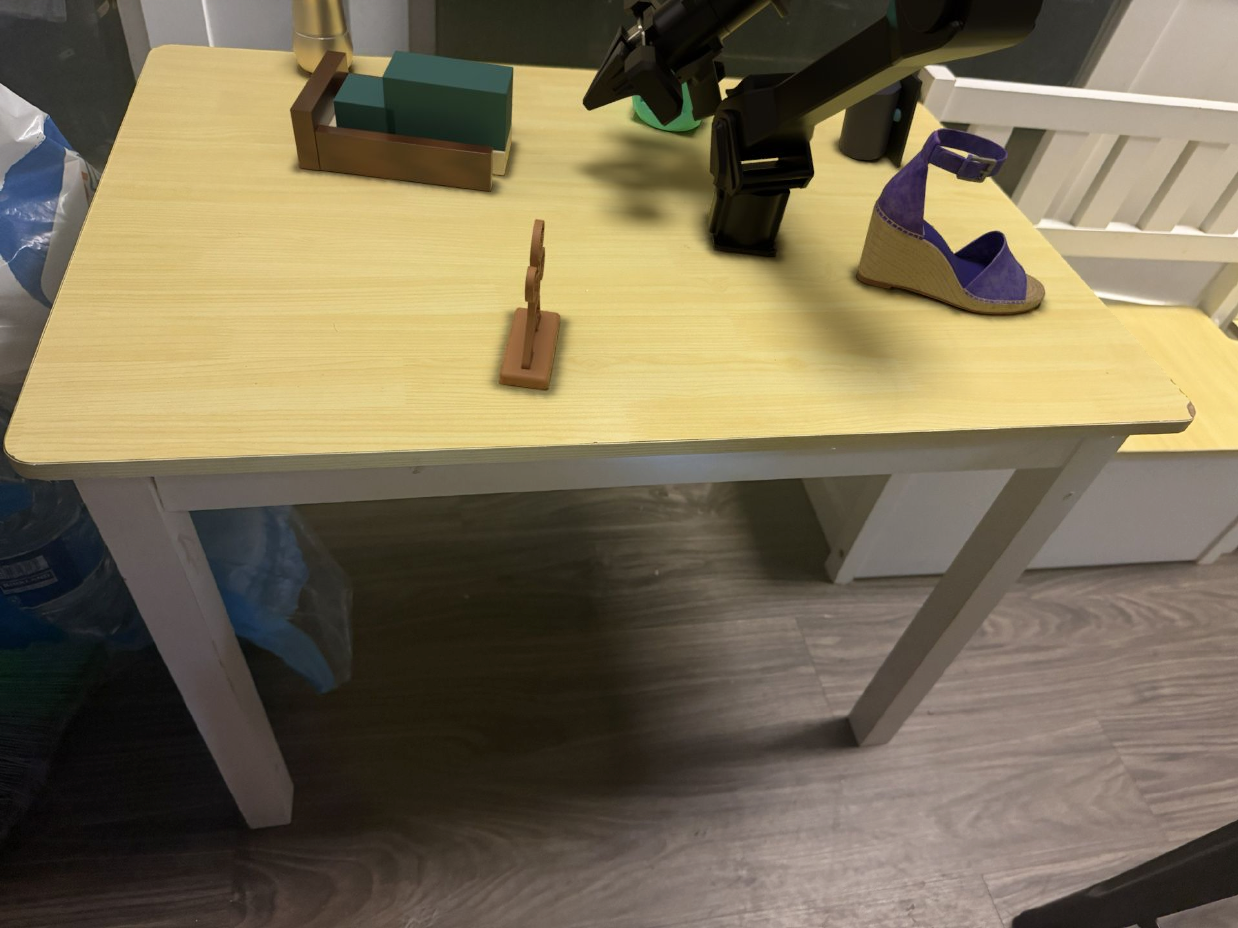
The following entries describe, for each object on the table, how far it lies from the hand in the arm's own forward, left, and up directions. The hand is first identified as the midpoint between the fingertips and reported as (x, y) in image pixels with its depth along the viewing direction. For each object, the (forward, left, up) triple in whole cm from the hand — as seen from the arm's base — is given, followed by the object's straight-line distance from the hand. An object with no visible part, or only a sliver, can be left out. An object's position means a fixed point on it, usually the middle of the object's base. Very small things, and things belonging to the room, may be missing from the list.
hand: (585, 106), depth 84 cm
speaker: (-34, -13, -7) cm, 37 cm away
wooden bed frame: (+18, 0, -7) cm, 19 cm away
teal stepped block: (+17, 0, -7) cm, 18 cm away
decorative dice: (-10, -16, -7) cm, 20 cm away
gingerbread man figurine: (+2, +31, -7) cm, 32 cm away
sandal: (-38, +14, -7) cm, 41 cm away
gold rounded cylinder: (+31, -16, -7) cm, 35 cm away
